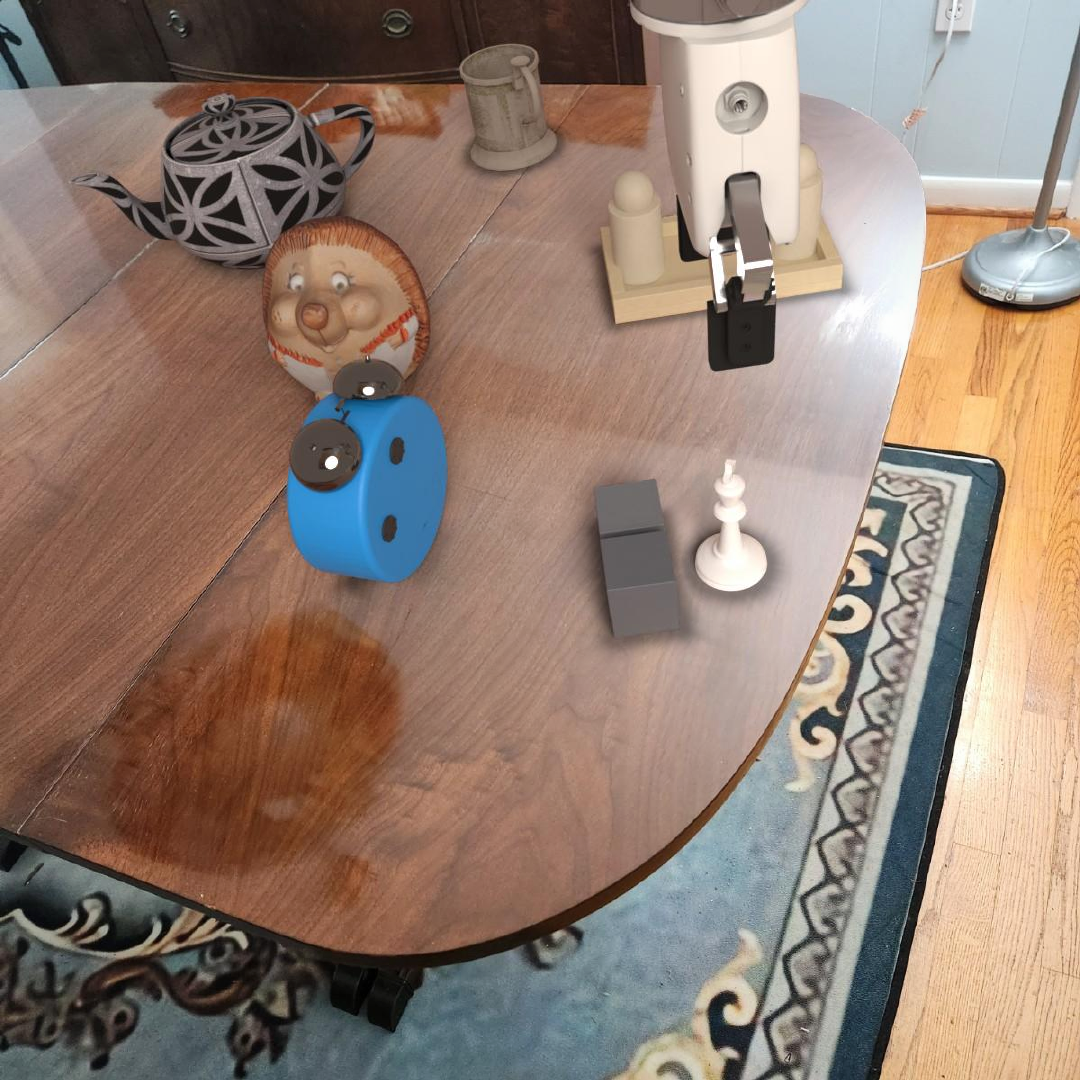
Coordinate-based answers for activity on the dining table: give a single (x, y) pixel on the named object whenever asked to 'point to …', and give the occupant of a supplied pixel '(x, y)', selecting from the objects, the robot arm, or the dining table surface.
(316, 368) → the figurine
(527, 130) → the mug
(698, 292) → the pawn tray
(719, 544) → the chess piece
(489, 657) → the dining table surface
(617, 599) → the slate blocks
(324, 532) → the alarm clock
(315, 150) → the teapot
